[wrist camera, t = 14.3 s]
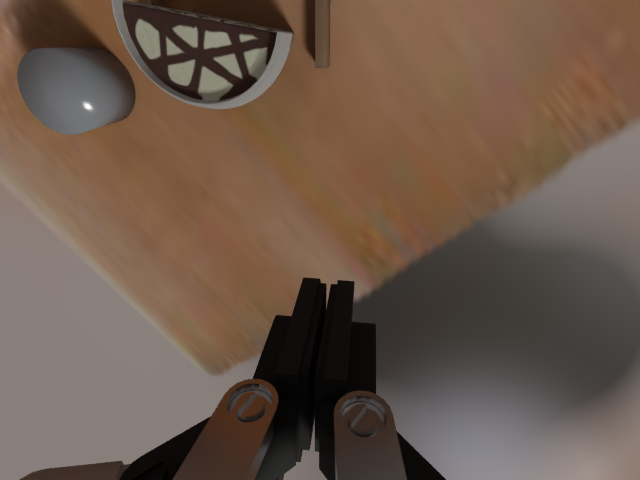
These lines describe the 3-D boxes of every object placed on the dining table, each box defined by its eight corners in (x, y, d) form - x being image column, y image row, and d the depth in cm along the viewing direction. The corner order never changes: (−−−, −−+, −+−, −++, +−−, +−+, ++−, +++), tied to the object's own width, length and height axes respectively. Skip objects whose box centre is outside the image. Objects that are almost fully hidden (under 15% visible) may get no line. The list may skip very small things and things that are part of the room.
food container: (177, 82, 36) (113, 95, 27) (175, 8, 33) (103, -4, 24) (300, 107, 35) (276, 128, 27) (310, 35, 32) (286, 33, 24)
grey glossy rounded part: (125, 46, 35) (81, 47, 30) (142, 122, 38) (105, 135, 33) (58, 47, 36) (4, 47, 30) (81, 121, 39) (35, 133, 34)
